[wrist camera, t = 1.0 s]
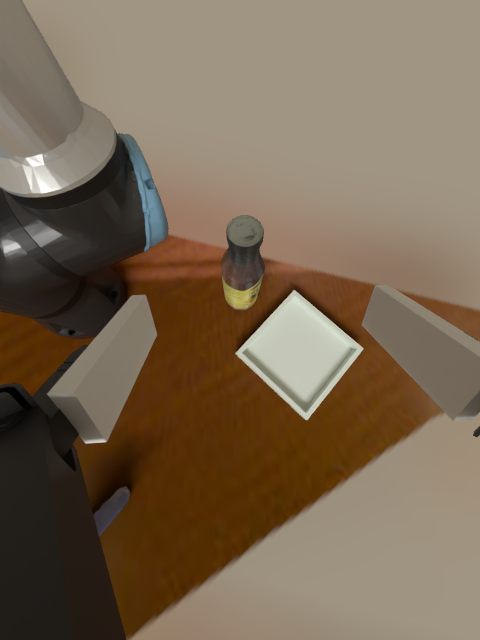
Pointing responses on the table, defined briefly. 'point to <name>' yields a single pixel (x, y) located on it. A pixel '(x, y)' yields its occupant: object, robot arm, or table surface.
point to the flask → (111, 509)
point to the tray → (299, 353)
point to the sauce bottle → (243, 262)
